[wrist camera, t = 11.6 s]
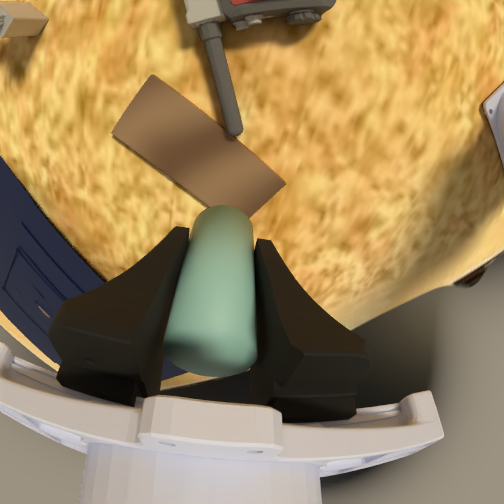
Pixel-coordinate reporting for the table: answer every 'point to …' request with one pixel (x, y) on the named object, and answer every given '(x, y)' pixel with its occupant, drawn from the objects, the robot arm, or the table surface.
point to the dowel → (215, 297)
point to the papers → (39, 269)
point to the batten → (195, 149)
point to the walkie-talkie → (241, 16)
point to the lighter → (20, 19)
